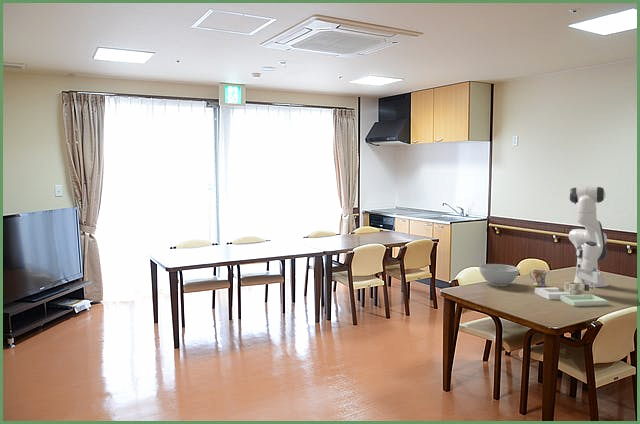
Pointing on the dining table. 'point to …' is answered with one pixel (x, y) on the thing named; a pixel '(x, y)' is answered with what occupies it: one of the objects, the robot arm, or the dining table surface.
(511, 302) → the dining table surface
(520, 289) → the dining table surface
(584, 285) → the caddy
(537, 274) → the mug
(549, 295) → the stand
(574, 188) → the robot arm
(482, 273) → the decorative bowl
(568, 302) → the tray
